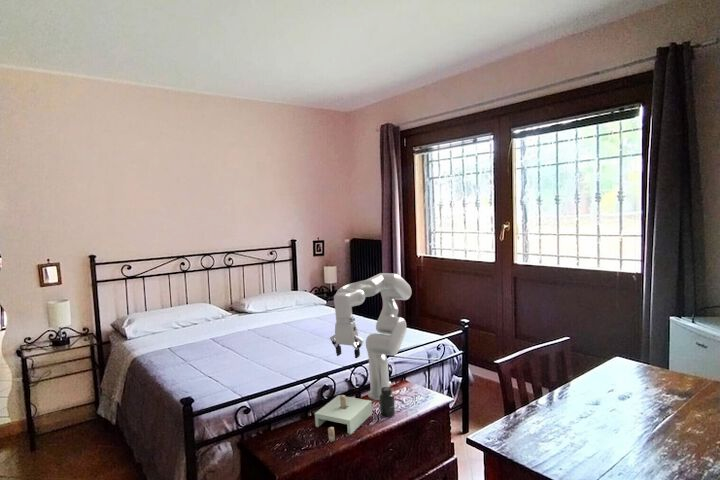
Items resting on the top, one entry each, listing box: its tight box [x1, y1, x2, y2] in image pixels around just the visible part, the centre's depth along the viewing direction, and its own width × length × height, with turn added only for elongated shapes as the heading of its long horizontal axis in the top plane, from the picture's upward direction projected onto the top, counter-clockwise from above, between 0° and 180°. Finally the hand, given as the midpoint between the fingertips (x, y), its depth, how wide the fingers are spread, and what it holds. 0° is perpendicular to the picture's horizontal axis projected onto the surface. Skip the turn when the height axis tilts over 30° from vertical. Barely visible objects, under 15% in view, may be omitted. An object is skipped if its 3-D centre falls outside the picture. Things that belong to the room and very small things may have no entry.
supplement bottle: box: [379, 387, 396, 418], centre depth 198 cm, size 7×7×12 cm
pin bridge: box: [314, 394, 373, 435], centre depth 196 cm, size 20×18×6 cm
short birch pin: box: [327, 426, 336, 443], centre depth 179 cm, size 2×2×5 cm
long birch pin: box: [340, 394, 347, 409], centre depth 196 cm, size 2×2×11 cm
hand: (348, 356), depth 198 cm, fingers open, 9 cm apart
